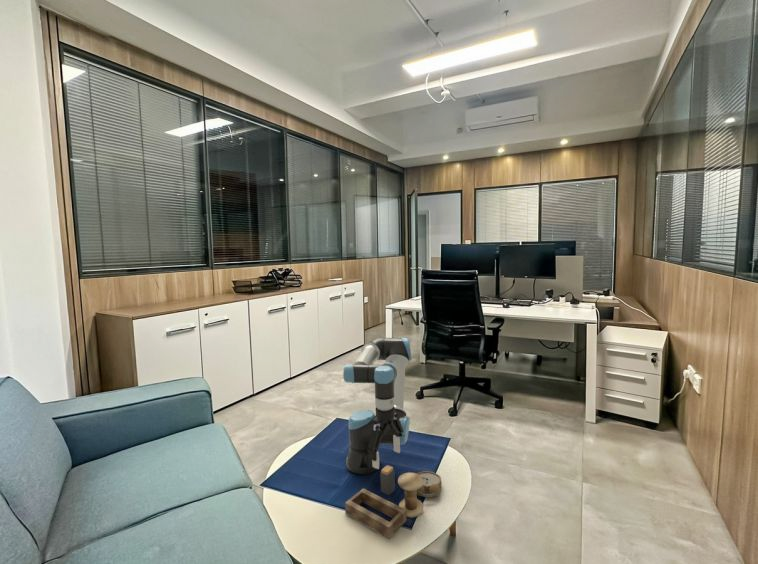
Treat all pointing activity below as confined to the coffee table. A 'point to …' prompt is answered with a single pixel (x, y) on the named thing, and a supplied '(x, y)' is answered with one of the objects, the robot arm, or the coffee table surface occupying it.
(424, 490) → the alarm clock
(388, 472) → the grey upright block
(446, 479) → the coffee table surface
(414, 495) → the bobbin
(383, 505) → the open rectangular wooden frame
